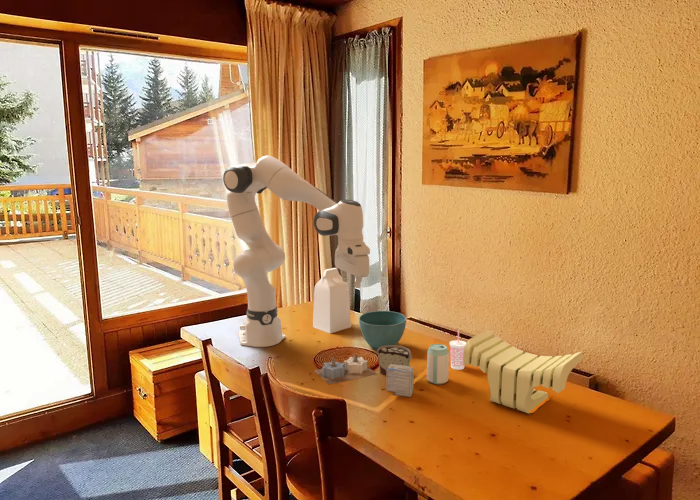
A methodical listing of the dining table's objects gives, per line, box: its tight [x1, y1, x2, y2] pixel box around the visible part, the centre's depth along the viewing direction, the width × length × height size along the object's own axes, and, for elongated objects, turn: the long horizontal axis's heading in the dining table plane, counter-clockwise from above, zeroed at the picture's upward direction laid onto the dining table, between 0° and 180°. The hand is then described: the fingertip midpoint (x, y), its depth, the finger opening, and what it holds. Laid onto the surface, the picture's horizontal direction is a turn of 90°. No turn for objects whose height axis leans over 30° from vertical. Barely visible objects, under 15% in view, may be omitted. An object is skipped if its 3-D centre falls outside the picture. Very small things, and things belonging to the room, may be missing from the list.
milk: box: [312, 267, 352, 334], centre depth 235 cm, size 12×12×26 cm
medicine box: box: [386, 364, 414, 398], centre depth 172 cm, size 8×4×9 cm, turn 71°
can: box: [426, 343, 450, 385], centre depth 181 cm, size 7×7×12 cm
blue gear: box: [321, 361, 345, 379], centre depth 185 cm, size 7×8×3 cm
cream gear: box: [343, 356, 368, 374], centre depth 188 cm, size 7×8×3 cm
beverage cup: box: [448, 329, 467, 371], centre depth 192 cm, size 6×6×14 cm
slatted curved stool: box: [463, 329, 583, 414], centre depth 165 cm, size 30×16×18 cm, turn 47°
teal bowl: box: [358, 310, 407, 351], centre depth 211 cm, size 18×18×12 cm
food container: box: [376, 344, 413, 376], centre depth 185 cm, size 12×6×10 cm, turn 65°
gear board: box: [313, 352, 377, 385], centre depth 186 cm, size 13×18×7 cm
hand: (351, 284), depth 193 cm, fingers open, 8 cm apart
